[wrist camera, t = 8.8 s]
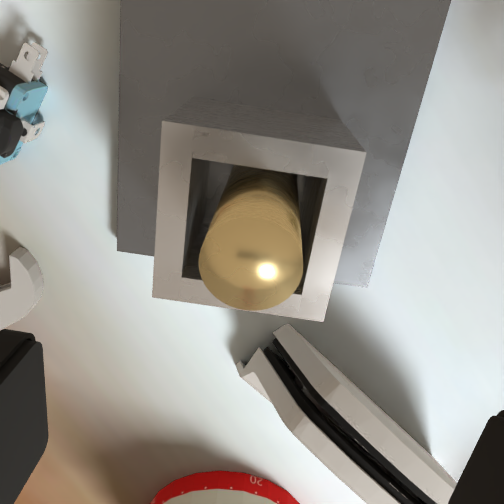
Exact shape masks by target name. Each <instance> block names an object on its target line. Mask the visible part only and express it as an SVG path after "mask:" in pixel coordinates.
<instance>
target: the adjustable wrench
mask: <svg viewBox="0 0 504 504" xmlns="http://www.w3.org/2000/svg"><path fill="white" fill-rule="evenodd" d="M9 260H10V275H11V282H10V283H7V284H4V285H0V330H1V329H3V328H5V327H7V326H9V325H11V324H13V323H15V322H17V321H19V320H21V319H23V318H24V317H25V316H26V315H27V314H28V313H29V312H30V311H31V309H32V308H33V307H34V306H35V305H36V304H37V302H38V301H39V299H40V298H41V296H42V293H43V285H44V281H43V275H42V272H41V270H40V267H39V265H38V262H37V261H36V259H35V258H34V257H33V256H32V254H31V253H30V252H29V251H28V250H27V249H25V248H23V247H19V248H17V249H16V250H15V251H14V252H13V253H12V254H10V255H9Z"/></svg>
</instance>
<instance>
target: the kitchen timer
mask: <svg viewBox="0 0 504 504" xmlns="http://www.w3.org/2000/svg"><path fill="white" fill-rule="evenodd" d="M150 504H299V503H298V502H297V501H296V500H295V498H294V497H293V496H292V495H291V494H290V493H289V492H288V491H286V490H284V489H283V488H281V487H279V486H277V485H276V484H274V483H272V482H270V481H269V480H266V479H263V478H260V477H256V476H253V475H250V474H246V473H240V472H229V471H211V472H202V473H195V474H192V475H189V476H186V477H183V478H180V479H177V480H175V481H173V482H172V483H170V484H169V485H167V486H166V487H164V488H163V489H161V490H160V491H159V492H158V493H157V495H156V496H155V497H154V499H153V500H152V502H151V503H150Z"/></svg>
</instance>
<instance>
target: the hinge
mask: <svg viewBox="0 0 504 504" xmlns="http://www.w3.org/2000/svg"><path fill="white" fill-rule="evenodd" d="M273 334H274V335H275V337H276V338H275V340H274V341H273V343H274V345H275V346H276V348H277V349H278V350H279V352H280V353H281V355H282V356H283V357H284V359H285V360H286V362H287V363H288V364H289V368H288V366H287V365H286V364H285V362H284V361H283V360H282V359H281V358H279V357H278V356H277V355H276V354H275V353H274V352H273V351H272V350H270V349H269V348H268V347H267V348H266V349H265V350H264V351H263V350H262V349H260V348H258V349H257V351H256V352H255V353H254V355H253V356H252V358H251V359H250V361H249V362H248V364H247V365H245V364H243V363H242V362H241V361H239V362H238V363H237V364H236V368H237V370H238V373H239V375H240V377H241V378H242V379H243V380H245V381H246V382H247V383H248V384H249V385H251V386H252V387H253V388H254V389H255V390H257V391H258V392H259V393H260V394H261V395H263V396H264V397H265V398H266V399H267V400H269V401H270V402H271V403H272V404H273V405H274V407H275V409H276V411H277V412H278V414H279V416H280V418H281V419H282V421H283V422H284V424H285V425H286V426H287V428H288V429H289V430H290V431H291V432H292V433H293V435H294V436H295V437H296V438H297V439H298V440H299V441H300V442H302V443H303V444H304V445H305V446H306V447H307V448H308V449H309V450H310V451H311V452H312V453H313V454H314V455H315V456H316V457H317V458H318V459H319V460H320V461H321V462H322V463H323V464H324V465H325V466H326V467H327V468H328V469H329V470H330V471H331V472H333V473H334V474H335V475H336V476H337V477H338V478H339V479H340V480H341V481H342V482H343V483H345V484H346V485H347V486H348V487H349V488H350V489H351V490H352V491H353V492H355V493H356V494H357V495H358V496H359V497H360V498H361V499H362V500H363V501H365V502H366V503H367V504H448V502H449V499H450V497H451V495H452V493H453V491H454V489H455V487H456V485H457V483H456V482H455V481H454V480H453V479H452V477H451V476H450V475H449V474H448V473H447V472H446V471H445V470H444V469H443V467H442V466H441V465H440V464H439V463H438V462H437V461H436V460H435V459H434V458H433V456H432V455H431V454H429V453H428V452H427V451H426V450H425V449H424V448H423V447H422V446H421V445H420V444H419V443H418V442H416V441H415V440H414V439H413V438H412V437H411V436H410V435H409V434H408V433H407V432H406V431H405V430H403V429H402V428H401V427H400V426H399V425H398V424H397V423H396V422H395V421H394V420H393V419H392V418H390V417H389V416H388V415H387V414H386V413H385V412H384V411H383V410H382V409H381V408H380V407H379V406H377V405H376V404H375V403H374V402H373V401H372V400H371V399H370V398H369V397H368V396H367V395H366V394H364V393H363V392H362V391H361V390H360V389H359V388H358V387H357V386H356V385H355V384H354V383H353V382H351V381H350V380H349V379H348V378H347V377H346V376H345V375H344V374H343V373H342V372H341V371H340V370H338V369H337V368H336V367H335V366H334V365H333V364H332V363H331V362H330V361H329V360H328V359H327V358H326V357H324V356H323V355H322V354H321V353H320V352H319V351H318V350H317V349H316V348H315V347H314V346H313V345H311V344H310V343H309V342H308V341H307V340H306V339H305V338H304V337H303V336H302V335H301V334H300V333H298V332H297V331H296V330H295V329H294V328H293V327H292V326H291V325H290V324H289V323H288V324H286V325H283V326H281V327H280V328H279V329H277V330H276V331H274V332H273Z"/></svg>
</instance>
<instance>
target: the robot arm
mask: <svg viewBox="0 0 504 504" xmlns="http://www.w3.org/2000/svg"><path fill="white" fill-rule="evenodd" d="M47 442H48V422H47V407H46V392H45V377H44V362H43V348H42V344H41V343H40V342H37V341H35V337H34V335H33V334H31V333H26V332H20V331H14V330H8V329H3V330H1V331H0V504H14V502H15V500H16V499H17V497H18V495H19V494H20V492H21V490H22V489H23V487H24V485H25V484H26V482H27V480H28V478H29V477H30V475H31V473H32V472H33V470H34V468H35V467H36V465H37V463H38V462H39V460H40V458H41V457H42V455H43V453H44V451H45V448H46V445H47ZM448 504H504V410H502V411H501V412H499V413H498V415H497V416H492V417H490V419H489V420H488V422H487V424H486V426H485V428H484V430H483V432H482V434H481V436H480V438H479V440H478V442H477V444H476V446H475V448H474V451H473V453H472V455H471V457H470V459H469V461H468V463H467V465H466V467H465V469H464V471H463V473H462V475H461V477H460V479H459V481H458V483H457V485H456V487H455V489H454V491H453V493H452V495H451V497H450V499H449V502H448Z"/></svg>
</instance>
